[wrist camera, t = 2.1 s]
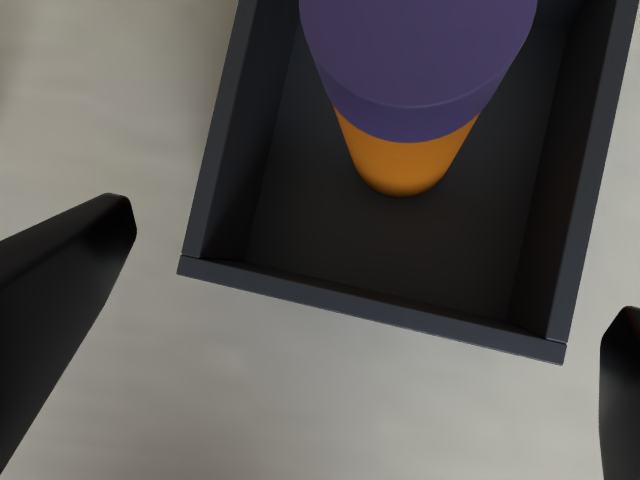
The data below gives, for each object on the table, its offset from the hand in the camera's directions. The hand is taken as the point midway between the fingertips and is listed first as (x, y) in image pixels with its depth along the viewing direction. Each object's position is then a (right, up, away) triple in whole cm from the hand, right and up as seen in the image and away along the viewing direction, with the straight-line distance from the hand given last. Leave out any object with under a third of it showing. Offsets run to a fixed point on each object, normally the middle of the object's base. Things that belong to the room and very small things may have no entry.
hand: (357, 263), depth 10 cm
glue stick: (+2, +4, +10) cm, 11 cm away
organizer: (+3, +4, +11) cm, 12 cm away
